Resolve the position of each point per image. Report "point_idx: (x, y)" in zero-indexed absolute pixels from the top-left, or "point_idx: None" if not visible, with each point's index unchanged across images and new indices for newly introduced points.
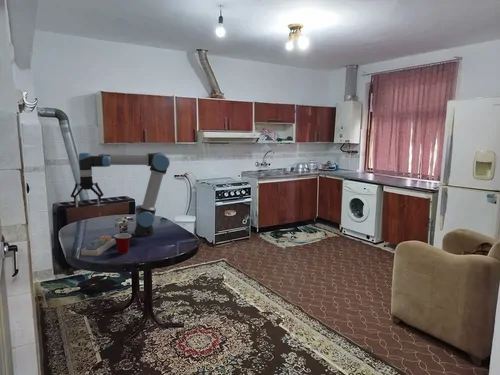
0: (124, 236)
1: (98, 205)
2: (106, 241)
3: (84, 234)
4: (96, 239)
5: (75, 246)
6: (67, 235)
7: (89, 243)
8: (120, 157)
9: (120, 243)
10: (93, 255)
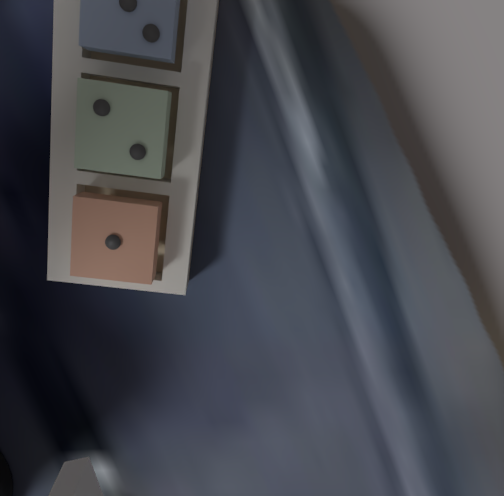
0: None
1: (65, 479)
2: None
3: (383, 455)
4: (158, 162)
5: (349, 186)
6: (495, 429)
7: (172, 32)
8: None
9: None
10: None
